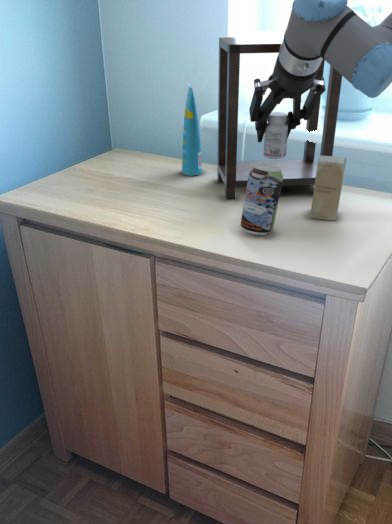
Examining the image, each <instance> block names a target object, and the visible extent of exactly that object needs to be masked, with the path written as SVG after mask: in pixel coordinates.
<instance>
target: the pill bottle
mask: <svg viewBox="0 0 392 524" xmlns="http://www.w3.org/2000/svg"><path fill="white" fill-rule="evenodd" d="M287 115H288V113H285V112H281V111H272V112H271V114H270V115H269V116H268V118H267V127H266V130H265V133H264V136H263V157H265V158H266V159H271V160H281V159H284V158H286V155H287V147H288V146H287V145H288V139H287V133H288V125H287V124H286V123H285V122H287Z"/></svg>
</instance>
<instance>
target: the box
mask: <svg viewBox="0 0 392 524" xmlns="http://www.w3.org/2000/svg"><path fill="white" fill-rule="evenodd" d="M347 159H348V158H347V157H346V156H345V157H344V156H336V155H335V156H333V155H332V156H320V155H319V157H318V160H317V163H316V164H317V171H316V178H315V185H313V186H314V187H313V193H312V201H311V209H310V215H309V218H311V219H318V220H325V221H336V220H337V217H338V212H339V209H340V208H339V207H340V201H341V195H342V188H343V182H344V176H345V172H346V164H347V161H348V160H347Z"/></svg>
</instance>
